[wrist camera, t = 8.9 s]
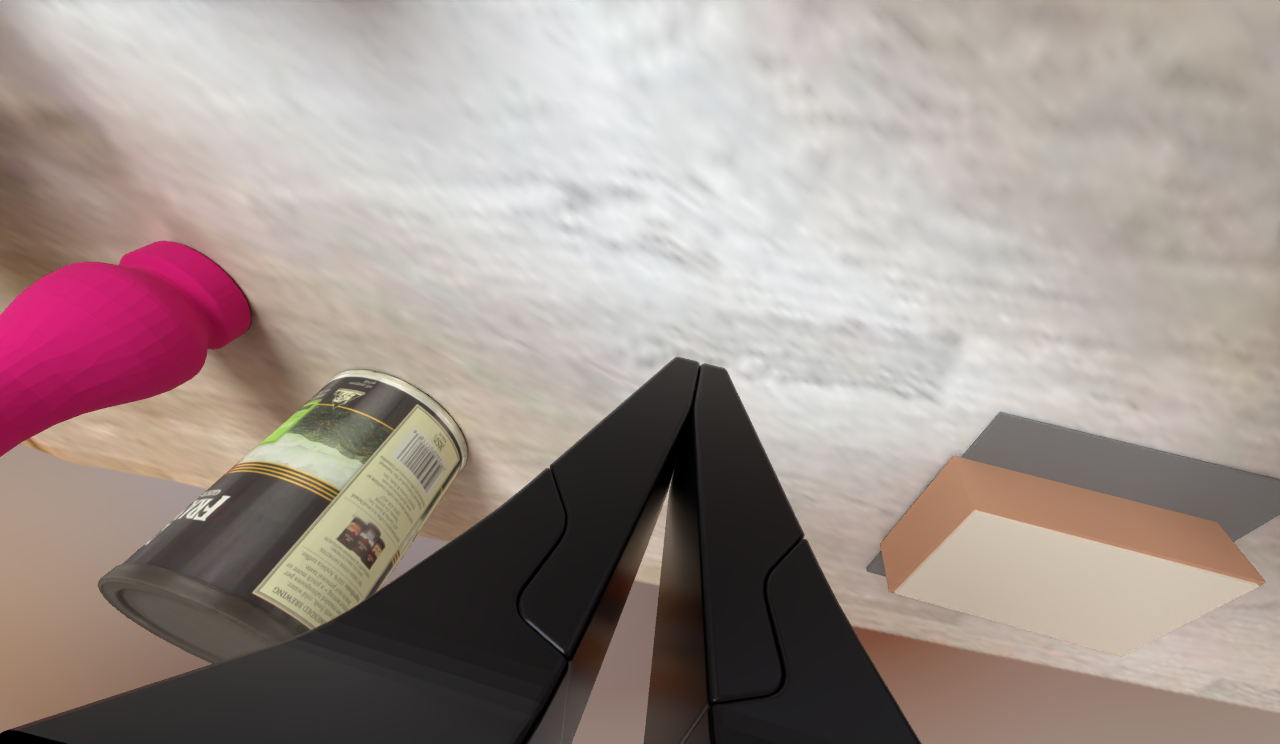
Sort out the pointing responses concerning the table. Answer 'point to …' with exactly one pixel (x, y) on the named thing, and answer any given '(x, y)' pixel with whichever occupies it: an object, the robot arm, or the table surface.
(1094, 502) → the beige rectangular block
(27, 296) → the pepper mill
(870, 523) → the table surface
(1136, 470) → the placemat
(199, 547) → the coffee can
